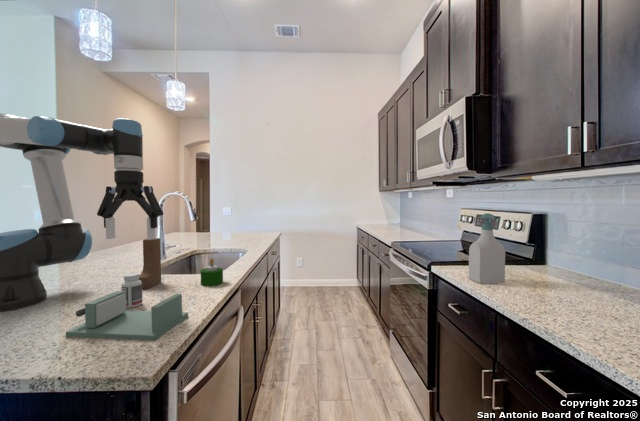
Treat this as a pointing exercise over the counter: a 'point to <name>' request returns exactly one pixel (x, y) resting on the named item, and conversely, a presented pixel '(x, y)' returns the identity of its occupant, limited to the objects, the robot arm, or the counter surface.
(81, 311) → the sliding jaw
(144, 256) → the wooden block
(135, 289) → the pill bottle
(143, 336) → the vise
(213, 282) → the candle
